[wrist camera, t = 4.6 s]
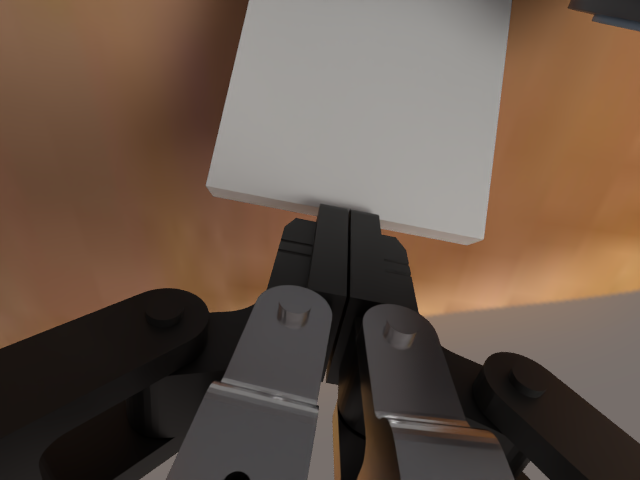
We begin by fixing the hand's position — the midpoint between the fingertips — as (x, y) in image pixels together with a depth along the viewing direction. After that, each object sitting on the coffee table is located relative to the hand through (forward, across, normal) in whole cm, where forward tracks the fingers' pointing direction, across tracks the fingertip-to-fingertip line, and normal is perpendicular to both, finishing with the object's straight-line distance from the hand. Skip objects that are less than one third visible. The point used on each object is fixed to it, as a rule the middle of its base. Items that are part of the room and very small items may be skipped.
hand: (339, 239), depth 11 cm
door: (+6, 0, -7) cm, 9 cm away
